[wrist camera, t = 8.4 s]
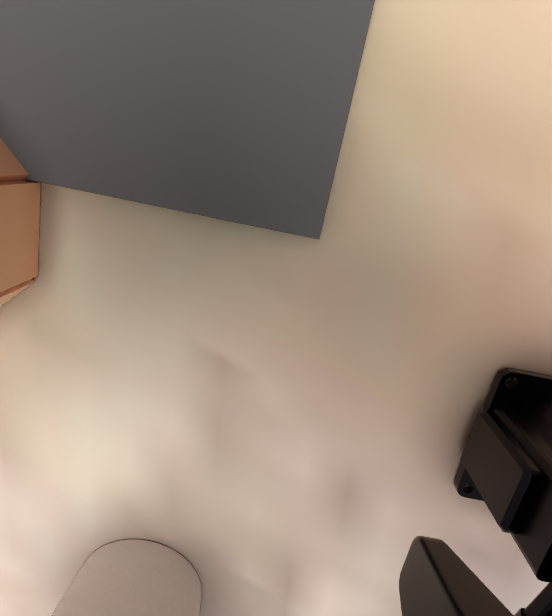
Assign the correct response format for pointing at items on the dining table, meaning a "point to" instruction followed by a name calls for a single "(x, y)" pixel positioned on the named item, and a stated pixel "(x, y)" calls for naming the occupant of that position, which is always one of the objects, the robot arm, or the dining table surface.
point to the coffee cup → (133, 583)
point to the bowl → (17, 226)
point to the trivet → (185, 101)
